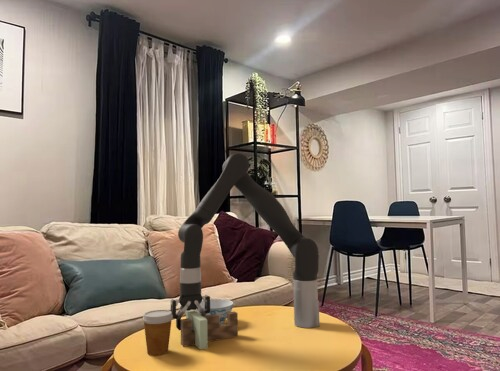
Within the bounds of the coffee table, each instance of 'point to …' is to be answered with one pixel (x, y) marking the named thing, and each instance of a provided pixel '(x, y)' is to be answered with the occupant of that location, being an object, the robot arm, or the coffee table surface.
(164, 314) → the disposable coffee cup
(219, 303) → the chinaware
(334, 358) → the coffee table surface
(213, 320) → the rail
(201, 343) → the cross piece
